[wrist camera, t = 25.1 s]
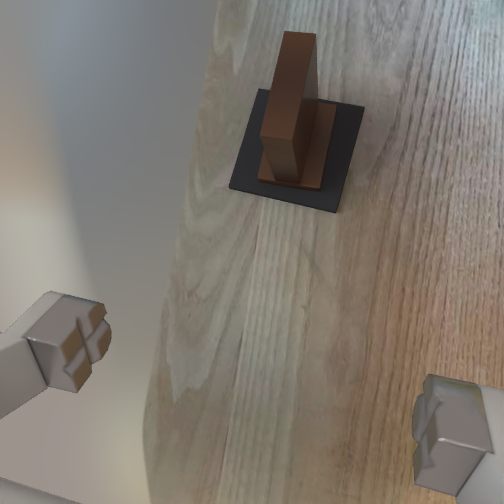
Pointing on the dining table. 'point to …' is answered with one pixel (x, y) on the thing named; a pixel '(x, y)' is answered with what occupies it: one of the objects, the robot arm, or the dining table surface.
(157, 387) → the dining table surface
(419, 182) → the dining table surface
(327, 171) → the mat
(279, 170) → the brown upright sign stand
